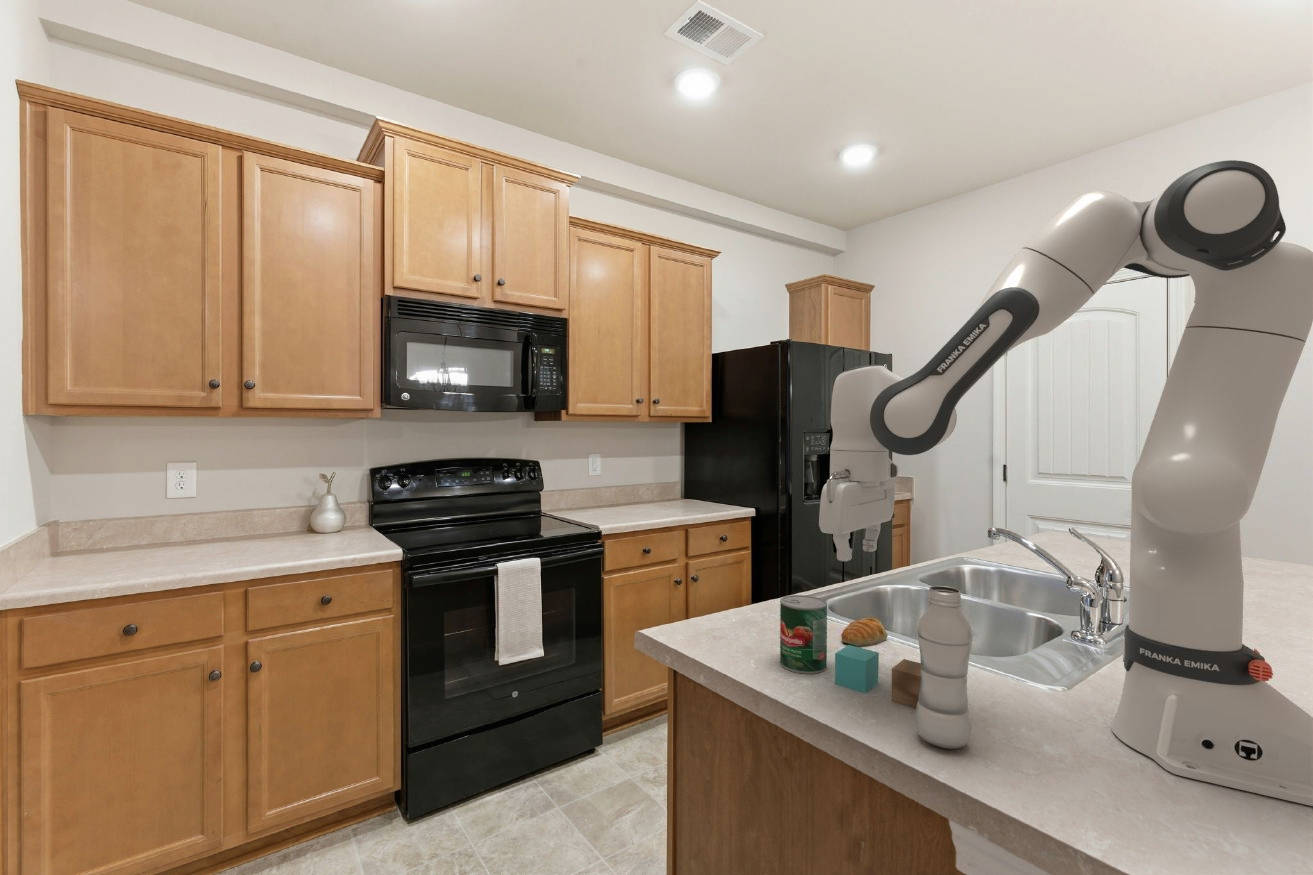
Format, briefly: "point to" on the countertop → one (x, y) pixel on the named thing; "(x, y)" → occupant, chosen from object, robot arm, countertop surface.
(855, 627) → the pastry
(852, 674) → the teal block
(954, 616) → the plastic bottle
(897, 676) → the walnut block
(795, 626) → the canned tomato
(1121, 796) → the countertop surface
